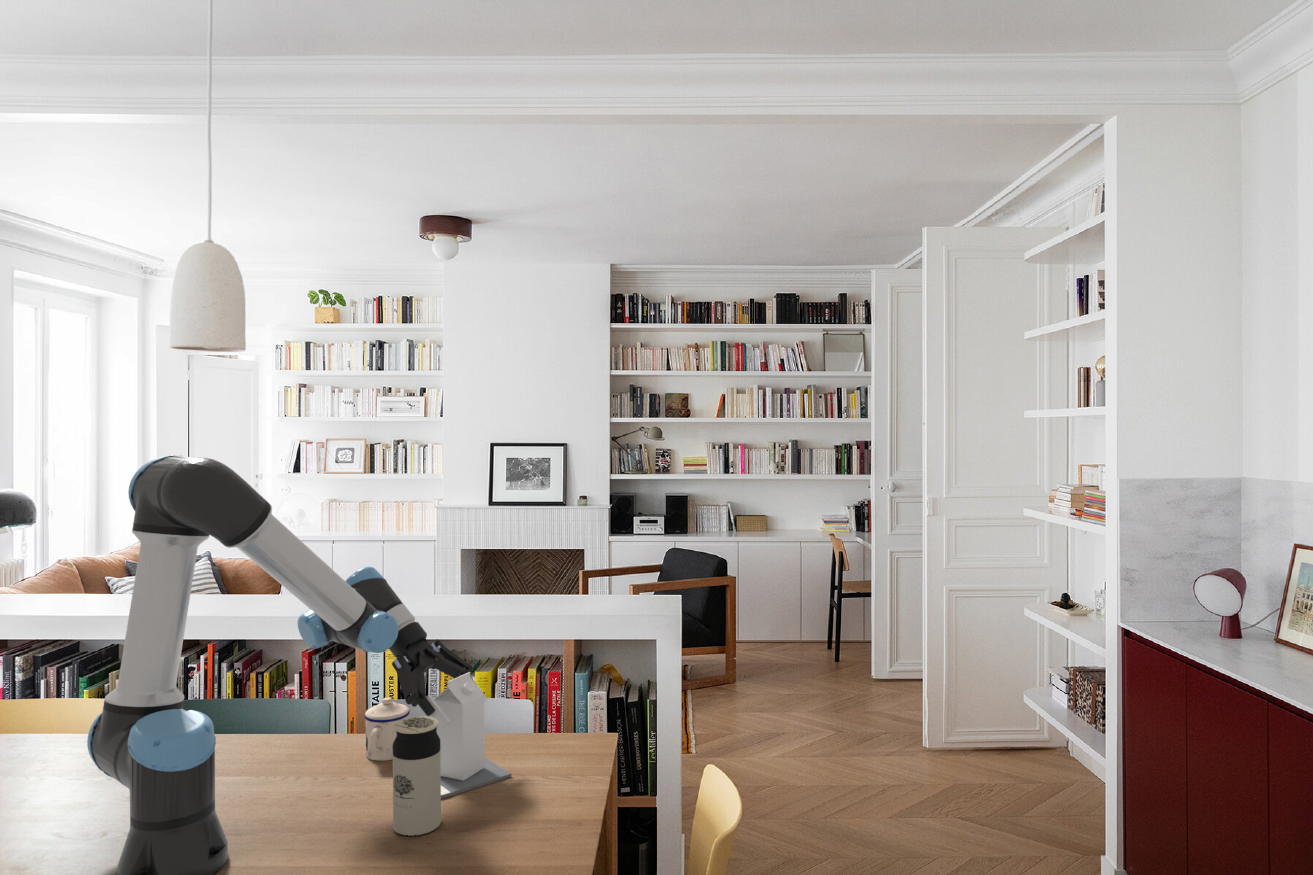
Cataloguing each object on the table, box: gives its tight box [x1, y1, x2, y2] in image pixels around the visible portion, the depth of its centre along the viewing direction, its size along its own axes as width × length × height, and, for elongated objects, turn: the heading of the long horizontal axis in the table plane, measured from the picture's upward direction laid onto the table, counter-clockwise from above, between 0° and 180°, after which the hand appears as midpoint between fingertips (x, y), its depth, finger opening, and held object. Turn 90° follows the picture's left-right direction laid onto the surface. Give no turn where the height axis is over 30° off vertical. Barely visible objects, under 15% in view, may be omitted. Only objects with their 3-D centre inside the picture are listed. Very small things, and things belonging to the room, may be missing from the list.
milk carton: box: [433, 672, 486, 781], centre depth 168 cm, size 7×7×19 cm
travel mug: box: [392, 715, 442, 837], centre depth 147 cm, size 8×8×18 cm
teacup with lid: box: [364, 697, 411, 762], centre depth 178 cm, size 12×9×12 cm
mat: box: [441, 757, 512, 800], centre depth 169 cm, size 18×16×1 cm
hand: (464, 714), depth 169 cm, fingers open, 13 cm apart
